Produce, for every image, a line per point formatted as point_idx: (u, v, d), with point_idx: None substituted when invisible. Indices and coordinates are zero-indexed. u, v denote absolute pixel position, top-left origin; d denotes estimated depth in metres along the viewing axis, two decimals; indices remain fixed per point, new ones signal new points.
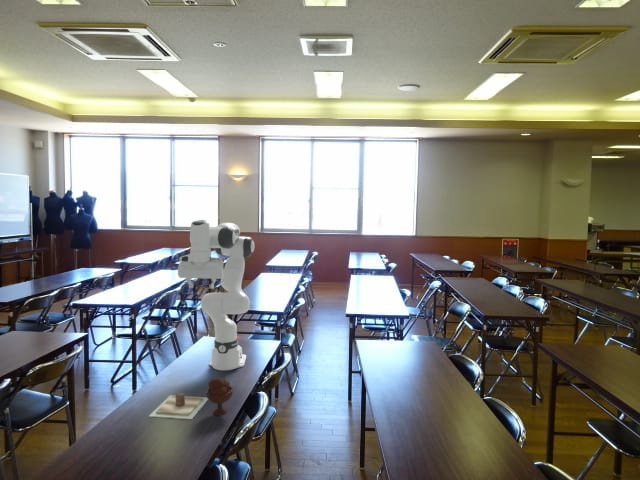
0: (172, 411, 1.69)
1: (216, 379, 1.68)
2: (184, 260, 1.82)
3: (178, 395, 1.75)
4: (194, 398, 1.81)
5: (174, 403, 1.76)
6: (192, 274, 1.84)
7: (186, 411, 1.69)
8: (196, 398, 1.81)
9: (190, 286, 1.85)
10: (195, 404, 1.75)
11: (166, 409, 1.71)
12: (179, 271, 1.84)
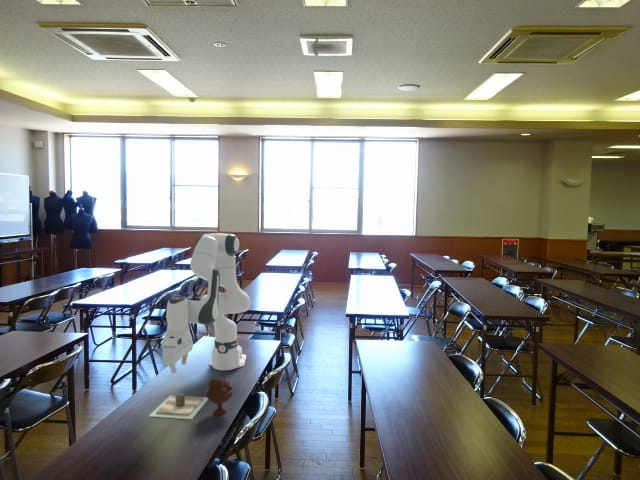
0: (172, 411, 1.69)
1: (216, 379, 1.68)
2: (179, 343, 1.66)
3: (178, 395, 1.75)
4: (194, 398, 1.81)
5: (174, 403, 1.76)
6: (179, 356, 1.70)
7: (186, 411, 1.69)
8: (196, 398, 1.81)
9: (175, 371, 1.69)
10: (195, 404, 1.75)
11: (166, 409, 1.71)
12: (173, 358, 1.64)
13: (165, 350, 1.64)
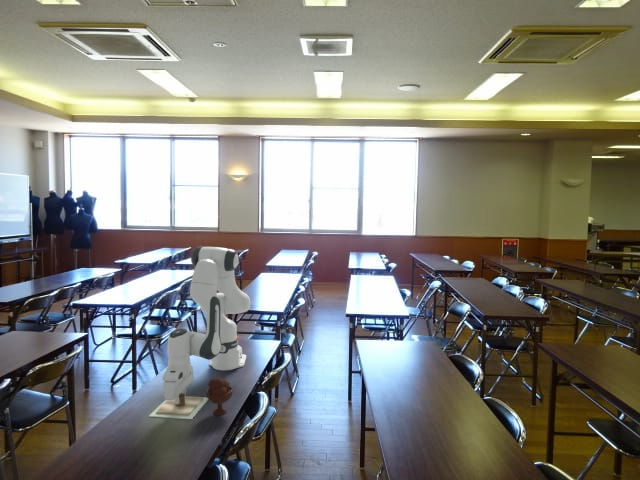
0: (172, 411, 1.69)
1: (216, 379, 1.68)
2: (180, 377, 1.68)
3: None
4: (194, 398, 1.81)
5: (174, 403, 1.76)
6: (180, 389, 1.71)
7: (186, 411, 1.70)
8: (196, 398, 1.81)
9: (179, 401, 1.73)
10: (195, 404, 1.75)
11: (166, 409, 1.71)
12: (174, 393, 1.65)
13: (166, 385, 1.65)
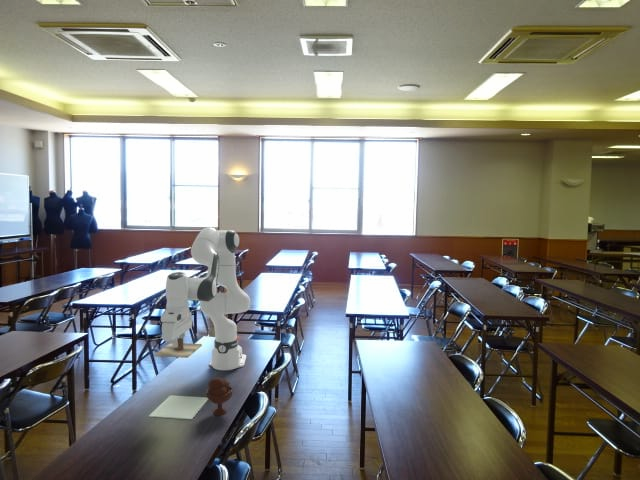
0: (170, 354, 1.67)
1: (216, 379, 1.68)
2: (178, 319, 1.65)
3: (177, 339, 1.73)
4: (193, 344, 1.79)
5: (173, 348, 1.74)
6: (178, 332, 1.69)
7: (185, 354, 1.67)
8: (195, 344, 1.79)
9: (178, 345, 1.70)
10: (194, 349, 1.73)
11: (164, 352, 1.69)
12: (172, 334, 1.63)
13: (164, 326, 1.63)
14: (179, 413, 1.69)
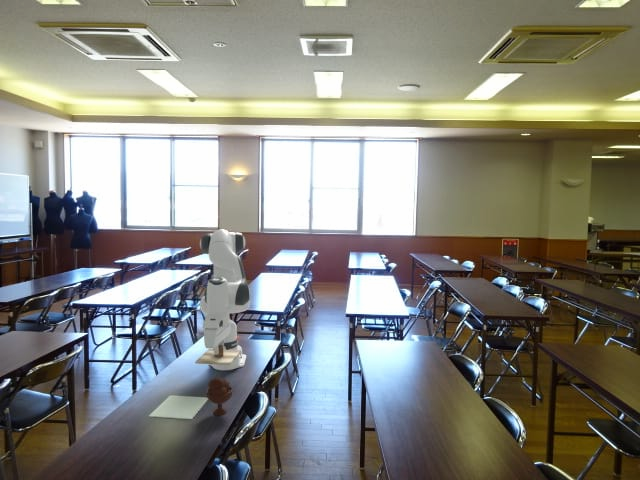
0: (212, 361, 1.63)
1: (216, 379, 1.68)
2: (220, 325, 1.62)
3: None
4: (232, 351, 1.75)
5: (212, 354, 1.70)
6: (219, 339, 1.65)
7: (226, 361, 1.63)
8: (234, 351, 1.75)
9: (218, 352, 1.67)
10: (235, 356, 1.69)
11: (205, 359, 1.65)
12: (215, 340, 1.59)
13: (207, 332, 1.59)
14: (179, 413, 1.69)
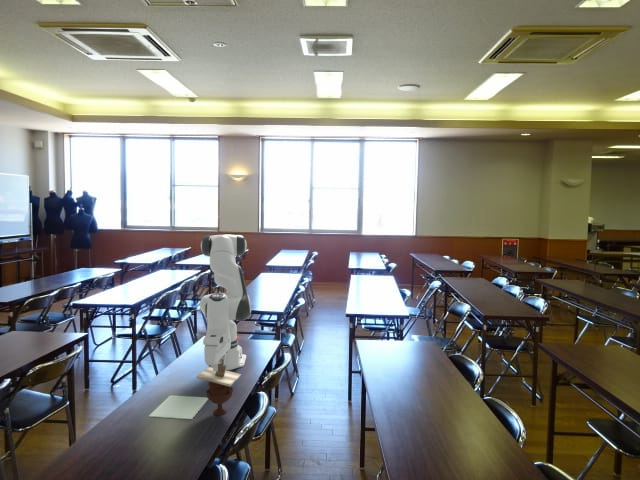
0: (213, 379, 1.64)
1: None
2: (221, 342, 1.62)
3: (220, 365, 1.70)
4: (232, 373, 1.75)
5: (213, 373, 1.71)
6: (220, 355, 1.66)
7: (227, 382, 1.64)
8: (234, 373, 1.75)
9: (217, 369, 1.66)
10: (235, 378, 1.70)
11: (206, 376, 1.66)
12: (215, 357, 1.60)
13: (207, 349, 1.60)
14: (179, 413, 1.69)
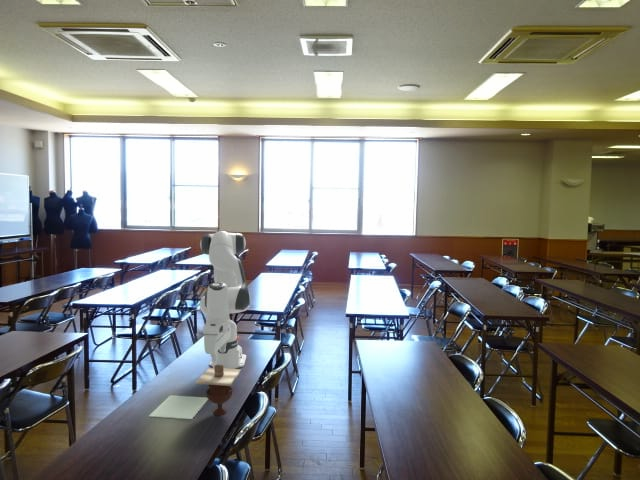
0: (212, 381, 1.64)
1: None
2: (220, 331, 1.62)
3: (217, 365, 1.69)
4: (232, 370, 1.75)
5: (213, 374, 1.71)
6: (219, 344, 1.65)
7: (226, 381, 1.64)
8: (234, 370, 1.75)
9: (216, 359, 1.65)
10: (235, 375, 1.69)
11: (205, 379, 1.65)
12: (215, 346, 1.59)
13: (207, 338, 1.59)
14: (179, 413, 1.69)
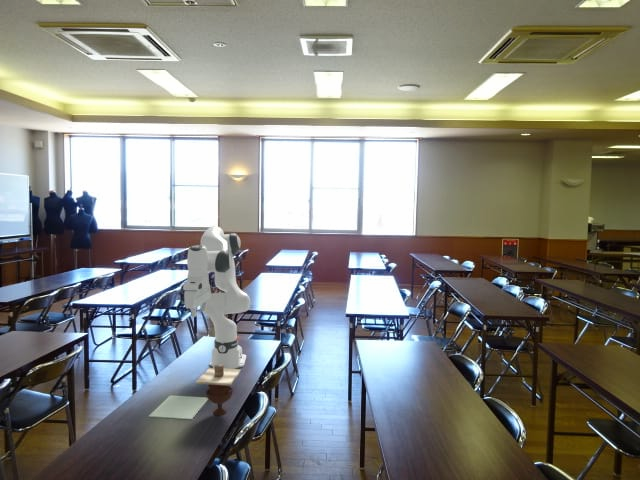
0: (212, 381, 1.64)
1: None
2: (199, 288, 1.76)
3: (217, 365, 1.69)
4: (232, 370, 1.75)
5: (213, 374, 1.71)
6: (199, 301, 1.79)
7: (226, 381, 1.64)
8: (234, 370, 1.75)
9: (196, 314, 1.79)
10: (235, 375, 1.69)
11: (205, 379, 1.65)
12: (194, 301, 1.74)
13: (187, 294, 1.74)
14: (179, 413, 1.69)
